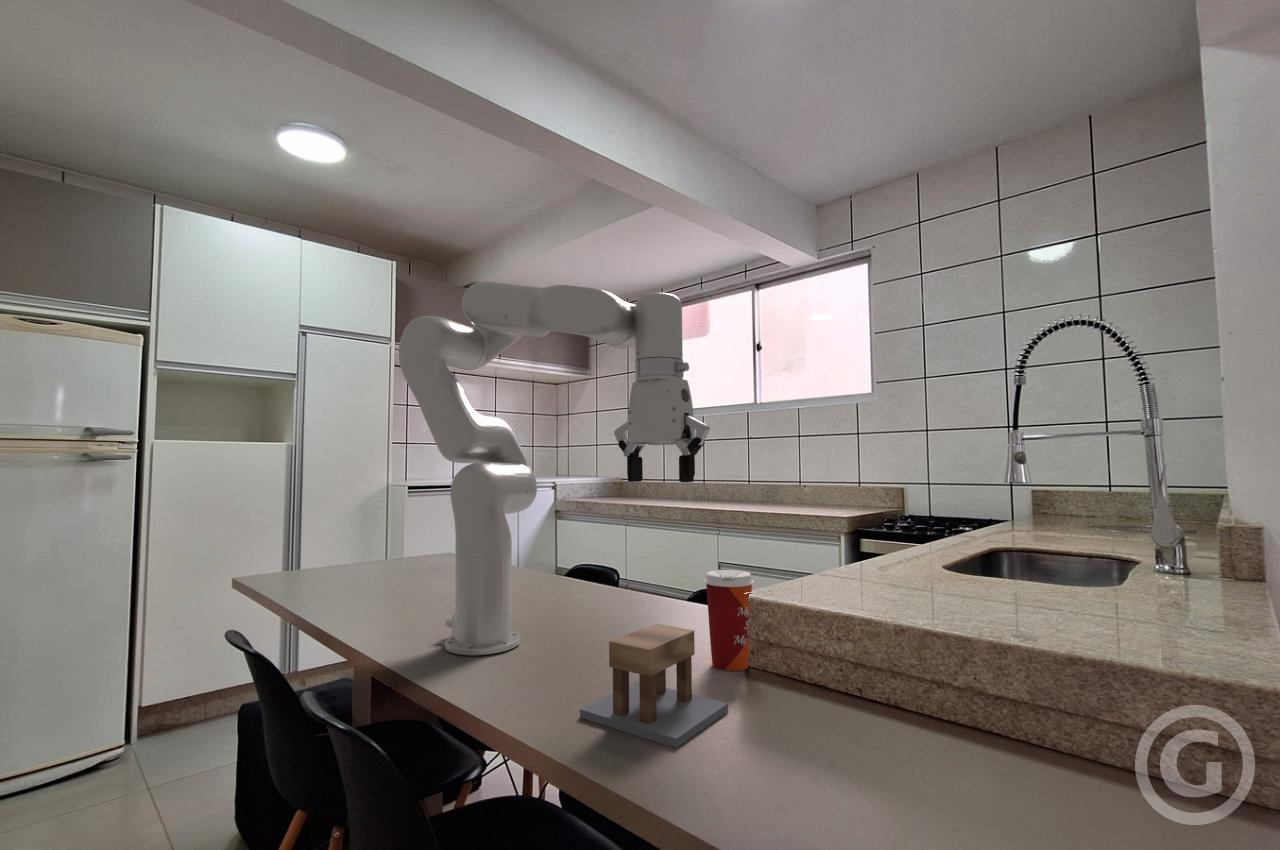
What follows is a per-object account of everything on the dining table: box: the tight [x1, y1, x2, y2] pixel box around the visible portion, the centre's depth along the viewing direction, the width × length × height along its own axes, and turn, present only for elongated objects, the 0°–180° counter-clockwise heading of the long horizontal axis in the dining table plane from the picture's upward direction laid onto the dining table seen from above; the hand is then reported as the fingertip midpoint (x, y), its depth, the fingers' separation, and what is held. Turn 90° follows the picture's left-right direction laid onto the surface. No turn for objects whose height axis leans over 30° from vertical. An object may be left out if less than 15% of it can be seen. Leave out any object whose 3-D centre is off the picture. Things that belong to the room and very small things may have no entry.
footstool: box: [608, 623, 696, 724], centre depth 75 cm, size 10×6×8 cm, turn 144°
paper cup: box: [703, 569, 755, 672], centre depth 93 cm, size 8×8×14 cm
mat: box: [579, 680, 729, 749], centre depth 74 cm, size 14×12×1 cm
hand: (660, 481), depth 94 cm, fingers open, 9 cm apart
